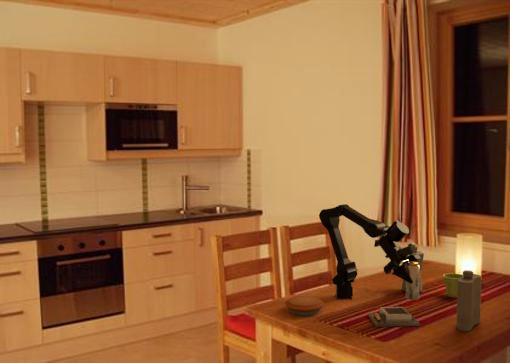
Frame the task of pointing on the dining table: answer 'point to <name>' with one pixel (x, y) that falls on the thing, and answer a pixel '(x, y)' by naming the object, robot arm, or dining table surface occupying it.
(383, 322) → the dock
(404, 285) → the moka pot
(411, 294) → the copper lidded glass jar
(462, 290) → the flask
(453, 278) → the plant pot
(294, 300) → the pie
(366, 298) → the dining table surface
